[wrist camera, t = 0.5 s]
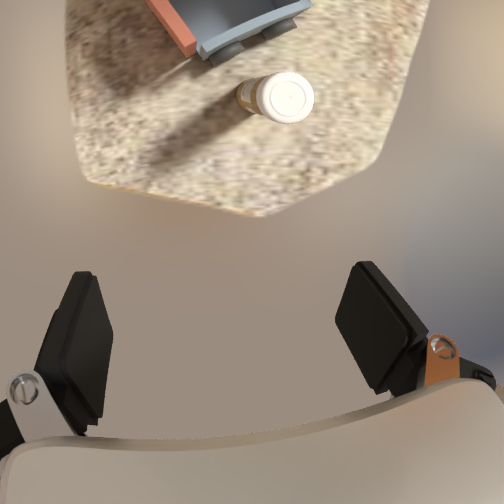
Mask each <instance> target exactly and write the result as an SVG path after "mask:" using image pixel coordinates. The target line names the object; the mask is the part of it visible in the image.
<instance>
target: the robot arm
mask: <svg viewBox="0 0 504 504" xmlns="http://www.w3.org/2000/svg"><path fill="white" fill-rule="evenodd" d="M335 323H336V325H337V327H338V329H339V331H340V333H341V334H342V336H343V338H344V340H345V342H346V344H347V346H348V347H349V349H350V351H351V353H352V355H353V357H354V359H355V361H356V362H357V364H358V366H359V368H360V370H361V372H362V374H363V376H364V378H365V379H366V382H367V383H368V385H369V387H370V388H372V389H374V391H375V393H376V395H378V394H381V393H383V392H386V391H388V390H390V392H391V396H390V400H387V401H385V402H382V403H379V404H376V405H373V406H370V407H367V408H363V409H360V410H357V411H353V412H350V413H346V414H343V415H339V416H335V417H332V418H328V419H324V420H320V421H315V422H311V423H307V424H302V425H298V426H293V427H287V428H282V429H276V430H270V431H264V432H257V433H250V434H242V435H234V436H224V437H212V438H198V439H171V440H170V439H169V440H168V439H167V440H158V439H154V440H153V439H118V438H104V437H88V436H87V434H86V433H85V432H86V431H87V425H96V426H97V425H98V418H102V416H103V408H104V398H105V389H106V382H107V374H108V367H109V361H110V354H111V349H112V343H113V330H112V327H111V324H110V321H109V318H108V315H107V311H106V308H105V305H104V301H103V298H102V294H101V291H100V287H99V284H98V280H97V277H96V276H92V273H91V272H89V271H84V272H83V271H82V272H75V273H74V274H73V276H72V279H71V281H70V283H69V285H68V287H67V289H66V292H65V294H64V296H63V299H62V301H61V303H60V306H59V308H58V309H57V310H56V311H55V312H54V314H53V317H52V319H51V322H50V324H49V327H48V329H47V332H46V335H45V338H44V340H43V343H42V346H41V349H40V352H39V355H38V358H37V361H36V364H35V367H34V370H29V369H28V370H27V369H26V370H21V371H19V372H17V373H15V374H14V375H13V376H12V377H11V378H10V380H9V382H8V384H7V387H6V396H7V399H5V400H4V401H2V402H1V403H0V504H504V387H502V386H501V385H500V384H497V385H496V380H495V378H494V376H493V374H492V372H491V371H490V370H488V369H487V368H485V367H483V366H480V365H478V364H475V363H473V362H471V361H468V360H466V359H463V358H461V357H459V351H458V348H457V346H456V344H455V343H454V342H453V341H452V340H451V339H450V338H448V337H446V336H444V335H440V334H434V335H432V336H431V337H430V338H429V339H428V338H427V337H426V335H427V334H428V332H429V331H428V329H427V328H426V327H425V325H424V324H423V323H422V322H421V320H420V319H419V318H418V316H417V315H416V314H415V313H414V311H413V310H412V309H411V307H410V306H409V305H408V304H407V302H406V301H405V300H404V299H403V297H402V296H401V295H400V294H399V293H398V291H397V290H396V289H395V288H394V287H393V285H392V284H391V283H390V282H389V280H388V279H387V278H386V277H385V276H384V274H383V273H382V272H381V271H380V270H379V269H378V268H377V266H376V265H375V264H374V263H373V262H372V261H360V262H357V263H356V264H355V266H353V267H352V269H351V272H350V276H349V278H348V281H347V285H346V288H345V291H344V293H343V296H342V299H341V302H340V305H339V307H338V310H337V313H336V316H335Z"/></svg>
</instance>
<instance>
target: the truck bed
mask: <svg viewBox="0 0 504 504" xmlns="http://www.w3.org/2000/svg"><path fill="white" fill-rule="evenodd" d="M168 1H169V3H170V4H171V5H172V7H173V8H174V9H175V11H176V12H177V13H178V15H179V16H180V17H181V19H182V20H183V21H184V23H185V24H186V26H187V27H188V28H189V30H190V31H191V33H192V34H193V35H194V37H195V38H196V40H197V45H196V51H197V53H198V54H199V56H200V57H201V59H202V60H203V61H205V60H206V59H208V58H209V60H210V61H211V63H212V64H213V66H214V67H215V66H217V65H219V64H221V63H223V62H225V61H227V60H229V59H230V58H232V57H234V56H236V55H238V54H240V53H241V52H243V51H245V49H244V47H243V46H242V44H241V43H240V41H242V40H245V39H247V38H249V37H251V36H253V35H255V34H257V33H260V32H262V33H263V35H264V36H265V38H266V40H269V39H272V38H274V37H276V36H279V35H281V34H283V33H286V32H288V31H290V30H292V29H295V28H297V26H296V24H295V23H294V21H293V19H292V18H294V17H295V16H297V15H299V14H300V13H302V12H304V11H305V10H307V9H309V8H311V7H312V6H313V4H312V3H311V1H310V0H168Z"/></svg>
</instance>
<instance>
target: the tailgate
mask: <svg viewBox="0 0 504 504" xmlns="http://www.w3.org/2000/svg"><path fill="white" fill-rule="evenodd" d="M145 1H146V3H147V5H148V6H149V8H150V9H151V10H152V12H153V13H154V14H155V16H156V17H157V18H158V20H159V21H160V22H161V24H162V25H163V26H164V28H165V29H166V30H167V32H168V33H169V35H170V36H171V37H172V39H173V40H174V42H175V43H176V44H177V46H178V47H179V49H180V50H181V51H182V53H183V54H184V56H185V57H186V59H187V58H189V57H190V56H192V55H194V54H196V45H197V40H196V38H195V37H194V35H193V34H192V33H191V31H190V30H189V28H188V27H187V26H186V24H185V23H184V21H183V20H182V19H181V17H180V16H179V15H178V13H177V12H176V11H175V9H174V8H173V7H172V5H171V4H170V3H169V1H168V0H145Z"/></svg>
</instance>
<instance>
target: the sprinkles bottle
mask: <svg viewBox="0 0 504 504" xmlns="http://www.w3.org/2000/svg"><path fill="white" fill-rule="evenodd" d="M236 98H237V101H238V104H239V105H240V106H241V107H242V108H243V109H245V110H246V111H248V112H253V113H256V114H259V115H264V116H265V117H267V118H268V119H270V120H272V121H275V122H278V123H282V124H294V123H297V122H299V121H301V120H303V119H304V118H305V117H306V116H307V115H308V114H309V113H310V111H311V109H312V107H313V103H314V94H313V90H312V87H311V86H310V84H309V83H308V81H307V80H306V79H305V78H303V77H302V76H300V75H299V74H296V73H293V72H277V73H273V74H271V75H267V76H262V77H257V78H250V79H247V80H245V81H244V82H243V83H242V84H241V85H240V86H239V87H238V90H237V97H236Z"/></svg>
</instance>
